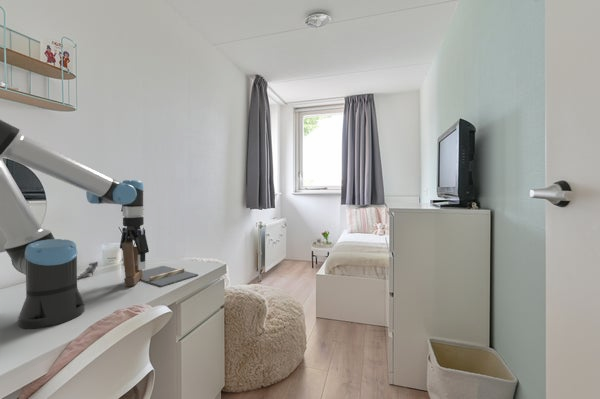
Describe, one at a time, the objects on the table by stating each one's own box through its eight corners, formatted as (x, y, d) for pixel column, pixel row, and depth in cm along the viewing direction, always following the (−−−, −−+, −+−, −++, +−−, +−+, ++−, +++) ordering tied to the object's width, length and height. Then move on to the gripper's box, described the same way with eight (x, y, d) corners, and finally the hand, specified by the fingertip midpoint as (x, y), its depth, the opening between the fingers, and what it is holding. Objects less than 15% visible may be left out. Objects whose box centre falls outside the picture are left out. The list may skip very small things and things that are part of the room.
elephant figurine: (70, 278, 122) (88, 266, 130) (81, 286, 123) (98, 274, 131) (78, 266, 118) (96, 255, 127) (90, 275, 119) (106, 263, 127)
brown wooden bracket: (143, 276, 121) (139, 237, 120) (134, 286, 111) (130, 243, 109) (134, 277, 120) (130, 238, 119) (124, 287, 110) (120, 244, 108)
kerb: (151, 281, 116) (151, 277, 116) (149, 280, 116) (149, 277, 116) (184, 271, 129) (184, 268, 129) (182, 271, 130) (182, 268, 130)
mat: (161, 287, 110) (161, 285, 110) (126, 275, 125) (126, 274, 125) (198, 275, 126) (198, 274, 125) (163, 266, 140) (163, 265, 140)
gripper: (157, 217, 112) (158, 269, 112) (128, 214, 124) (129, 261, 125) (139, 218, 105) (139, 273, 106) (110, 215, 118) (110, 265, 118)
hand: (134, 267), depth 115 cm, fingers open, 11 cm apart
